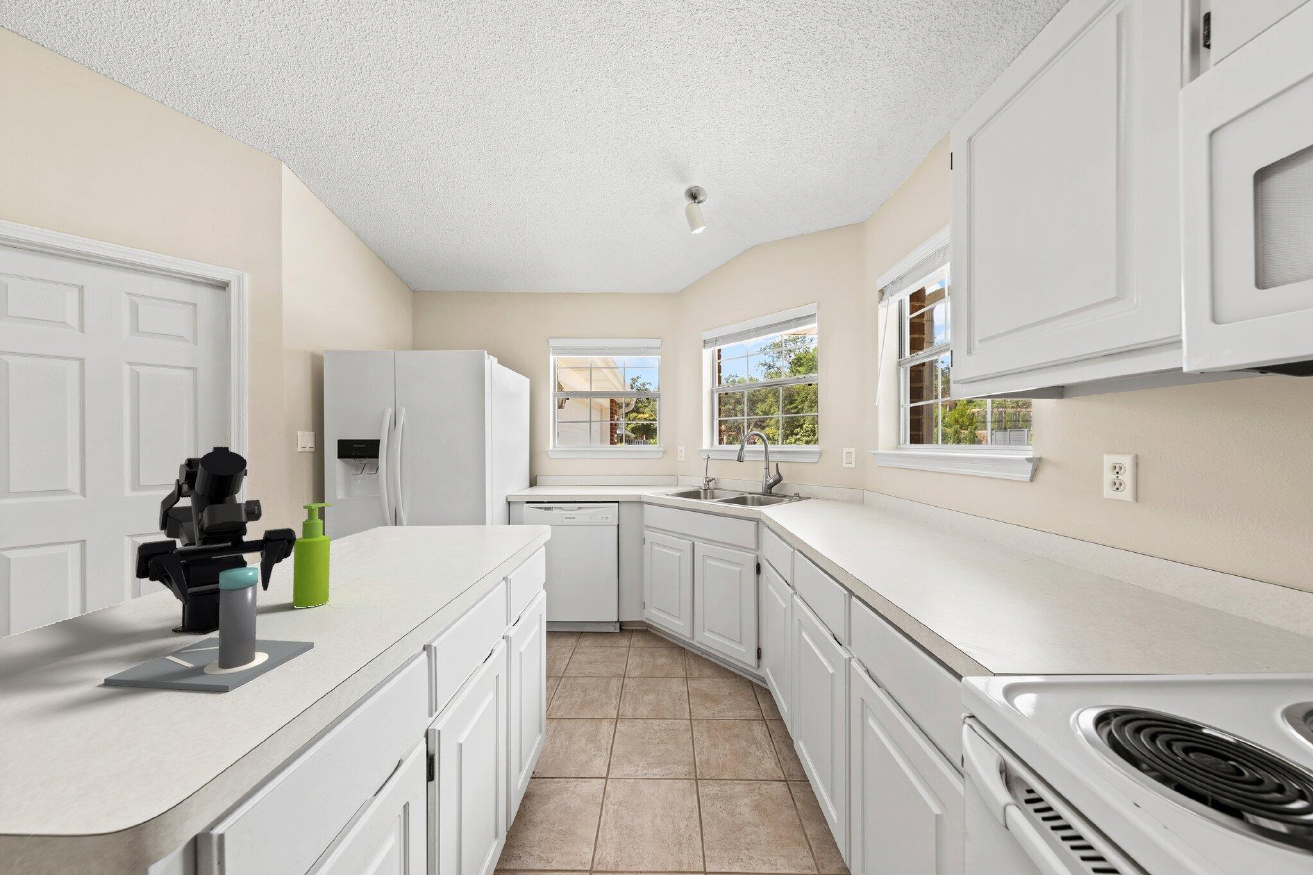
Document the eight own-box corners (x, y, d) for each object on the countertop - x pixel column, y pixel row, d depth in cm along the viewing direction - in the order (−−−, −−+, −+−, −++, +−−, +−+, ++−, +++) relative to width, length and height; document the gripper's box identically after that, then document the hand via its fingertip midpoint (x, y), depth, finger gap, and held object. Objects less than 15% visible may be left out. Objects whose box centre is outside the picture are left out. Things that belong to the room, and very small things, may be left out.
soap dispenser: (339, 598, 101) (341, 502, 102) (312, 609, 95) (315, 506, 95) (313, 597, 102) (315, 501, 102) (285, 607, 95) (287, 505, 95)
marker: (213, 663, 69) (215, 571, 69) (250, 653, 72) (252, 565, 73) (222, 671, 66) (224, 576, 67) (260, 660, 70) (262, 570, 70)
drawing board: (103, 684, 64) (104, 677, 64) (209, 642, 78) (209, 636, 78) (228, 691, 63) (228, 684, 63) (313, 647, 77) (314, 641, 77)
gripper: (139, 487, 71) (144, 577, 64) (294, 481, 85) (312, 554, 78) (133, 535, 76) (137, 623, 69) (281, 521, 90) (297, 593, 83)
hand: (228, 595), depth 74 cm, fingers open, 9 cm apart
